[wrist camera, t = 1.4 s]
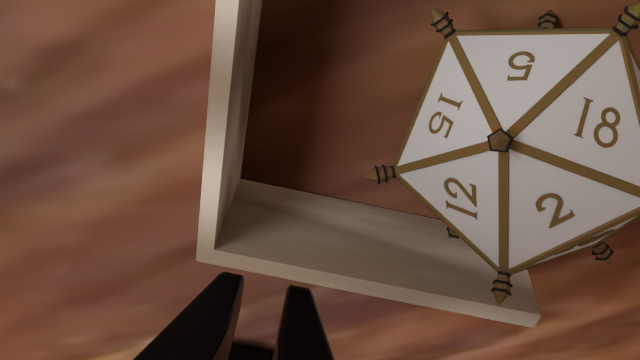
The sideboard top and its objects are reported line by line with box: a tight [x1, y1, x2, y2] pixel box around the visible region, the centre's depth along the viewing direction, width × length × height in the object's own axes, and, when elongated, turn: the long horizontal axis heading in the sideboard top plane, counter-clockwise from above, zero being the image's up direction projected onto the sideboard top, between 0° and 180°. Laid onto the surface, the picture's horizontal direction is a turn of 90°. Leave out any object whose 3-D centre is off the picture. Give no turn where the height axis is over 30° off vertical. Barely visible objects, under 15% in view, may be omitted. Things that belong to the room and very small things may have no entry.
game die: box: [365, 2, 640, 306], centre depth 17 cm, size 9×8×10 cm
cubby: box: [196, 0, 542, 328], centre depth 18 cm, size 14×13×4 cm
